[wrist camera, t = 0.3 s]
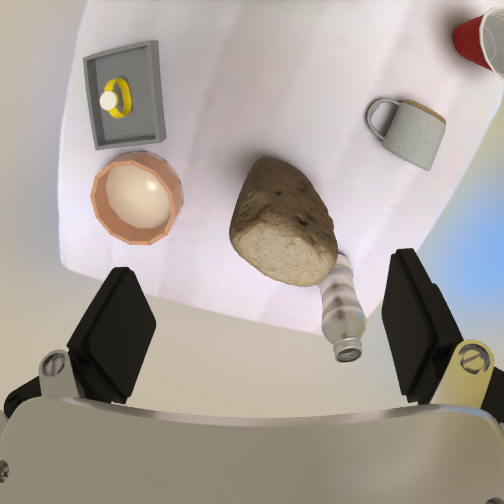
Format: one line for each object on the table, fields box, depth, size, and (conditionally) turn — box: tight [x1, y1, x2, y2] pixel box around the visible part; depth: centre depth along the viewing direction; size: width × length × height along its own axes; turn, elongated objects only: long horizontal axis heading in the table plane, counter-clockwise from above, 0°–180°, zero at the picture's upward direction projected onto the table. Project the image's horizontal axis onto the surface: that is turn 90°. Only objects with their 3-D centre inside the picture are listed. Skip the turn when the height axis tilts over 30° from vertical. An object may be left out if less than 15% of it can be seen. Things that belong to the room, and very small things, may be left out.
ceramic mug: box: [367, 99, 446, 171], centre depth 35 cm, size 11×8×8 cm
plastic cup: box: [453, 7, 504, 82], centre depth 24 cm, size 11×11×12 cm
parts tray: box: [83, 41, 166, 150], centre depth 38 cm, size 15×11×3 cm
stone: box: [229, 157, 338, 287], centre depth 37 cm, size 12×7×20 cm, turn 58°
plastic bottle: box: [317, 254, 366, 364], centre depth 45 cm, size 6×7×20 cm
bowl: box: [90, 151, 183, 245], centre depth 46 cm, size 14×14×5 cm
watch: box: [100, 77, 132, 118], centre depth 36 cm, size 6×3×6 cm, turn 7°
